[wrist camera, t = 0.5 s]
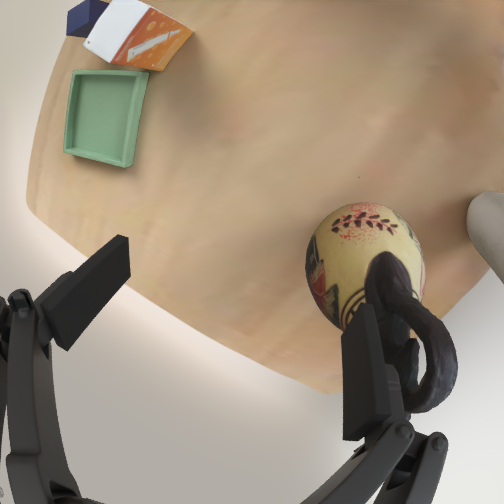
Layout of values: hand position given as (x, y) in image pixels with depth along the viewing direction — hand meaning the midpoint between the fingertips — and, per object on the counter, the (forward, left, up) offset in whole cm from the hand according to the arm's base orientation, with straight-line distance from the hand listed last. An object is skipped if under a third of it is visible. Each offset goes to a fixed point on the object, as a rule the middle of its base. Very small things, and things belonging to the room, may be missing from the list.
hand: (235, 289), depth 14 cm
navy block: (-20, -35, -27) cm, 49 cm away
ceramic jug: (+4, +14, -27) cm, 31 cm away
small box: (-16, -22, -27) cm, 38 cm away
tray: (-3, -31, -27) cm, 41 cm away
